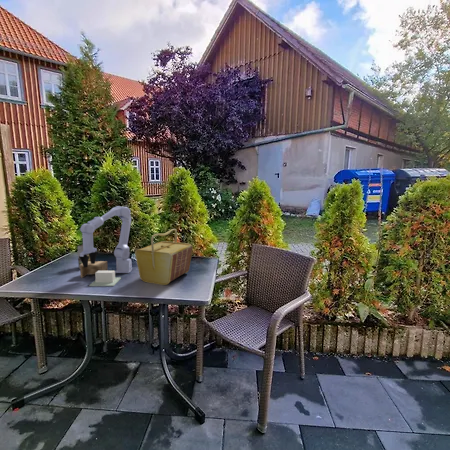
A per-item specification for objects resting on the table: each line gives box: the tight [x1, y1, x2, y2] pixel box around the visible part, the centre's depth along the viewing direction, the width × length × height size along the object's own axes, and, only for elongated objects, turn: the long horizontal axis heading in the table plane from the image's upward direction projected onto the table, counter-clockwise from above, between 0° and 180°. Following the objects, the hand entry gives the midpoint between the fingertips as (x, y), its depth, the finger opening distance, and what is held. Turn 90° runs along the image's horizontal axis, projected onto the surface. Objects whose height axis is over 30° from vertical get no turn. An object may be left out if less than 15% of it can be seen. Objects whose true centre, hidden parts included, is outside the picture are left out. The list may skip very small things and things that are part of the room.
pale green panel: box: [88, 276, 122, 287], centre depth 177 cm, size 14×14×1 cm
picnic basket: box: [134, 228, 194, 286], centre depth 185 cm, size 29×26×30 cm
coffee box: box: [77, 244, 90, 269], centre depth 206 cm, size 9×6×16 cm
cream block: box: [94, 270, 116, 283], centre depth 177 cm, size 4×10×6 cm, turn 92°
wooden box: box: [79, 260, 109, 279], centre depth 188 cm, size 14×8×8 cm, turn 92°
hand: (89, 265), depth 179 cm, fingers open, 7 cm apart
